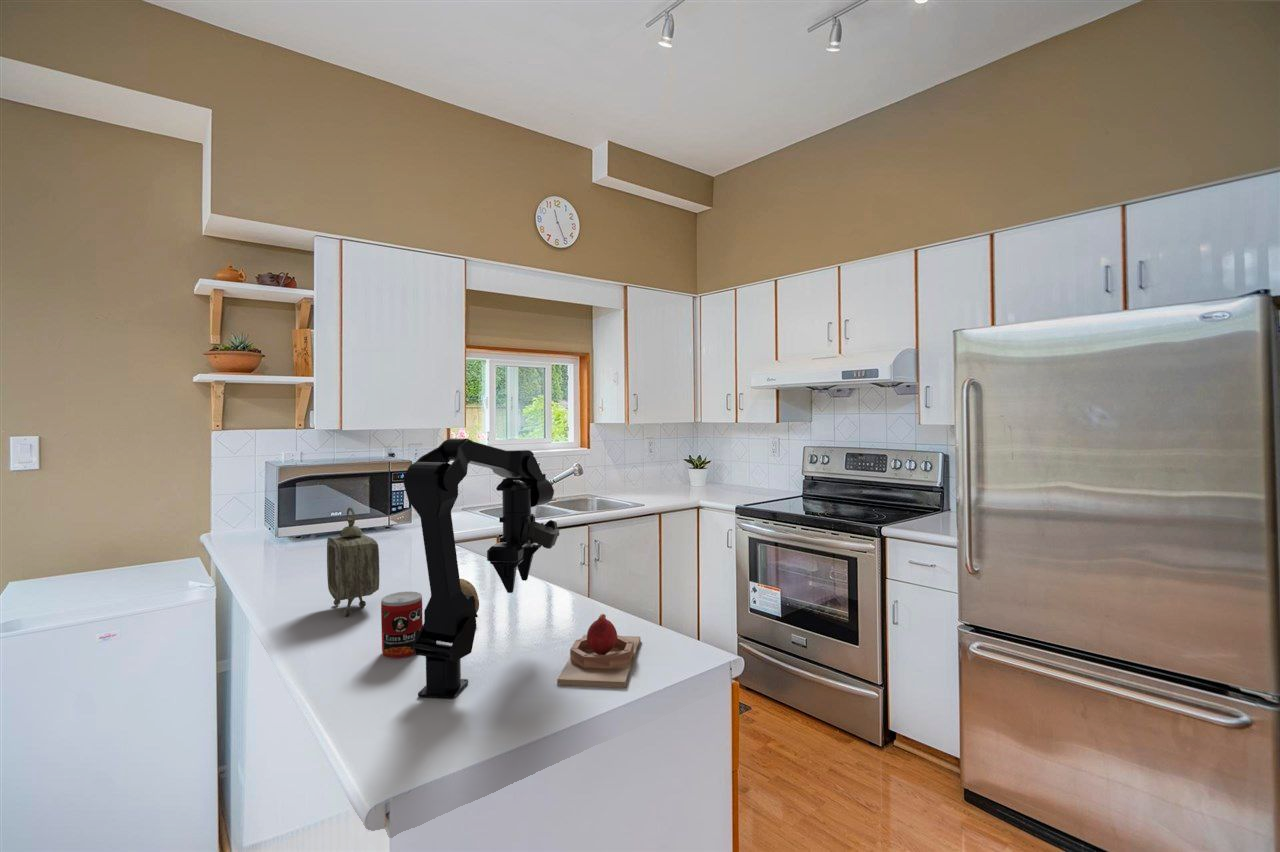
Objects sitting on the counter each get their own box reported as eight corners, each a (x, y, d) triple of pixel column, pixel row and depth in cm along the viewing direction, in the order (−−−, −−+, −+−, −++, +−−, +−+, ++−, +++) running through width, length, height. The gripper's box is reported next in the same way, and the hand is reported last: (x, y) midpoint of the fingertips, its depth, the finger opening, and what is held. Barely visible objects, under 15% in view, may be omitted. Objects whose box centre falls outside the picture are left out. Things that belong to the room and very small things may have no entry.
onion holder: (625, 687, 106) (625, 670, 106) (557, 684, 108) (557, 667, 108) (640, 641, 128) (640, 627, 128) (583, 639, 130) (583, 625, 130)
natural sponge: (437, 618, 144) (436, 575, 144) (476, 613, 147) (475, 572, 147) (439, 630, 136) (438, 585, 135) (480, 625, 139) (480, 581, 139)
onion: (613, 663, 115) (612, 620, 114) (583, 660, 116) (583, 618, 116) (620, 651, 120) (620, 610, 120) (591, 649, 121) (591, 608, 121)
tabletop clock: (327, 605, 155) (326, 506, 155) (366, 598, 160) (364, 502, 160) (340, 620, 143) (338, 512, 143) (381, 612, 149) (379, 509, 149)
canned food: (379, 661, 119) (378, 604, 119) (384, 646, 127) (384, 593, 127) (421, 656, 121) (420, 600, 121) (424, 642, 129) (423, 589, 129)
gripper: (542, 518, 117) (543, 601, 117) (566, 504, 135) (566, 575, 135) (485, 518, 118) (486, 599, 118) (516, 504, 136) (517, 574, 137)
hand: (517, 586), depth 127 cm, fingers open, 9 cm apart
